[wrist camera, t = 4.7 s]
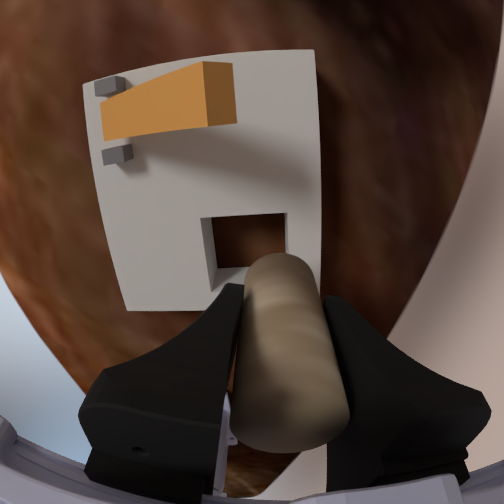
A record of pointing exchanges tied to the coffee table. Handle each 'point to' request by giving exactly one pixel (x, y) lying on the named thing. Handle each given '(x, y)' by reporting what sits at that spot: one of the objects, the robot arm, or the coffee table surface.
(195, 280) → the white flat block
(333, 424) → the peg
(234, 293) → the robot arm
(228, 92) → the latch
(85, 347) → the coffee table surface
